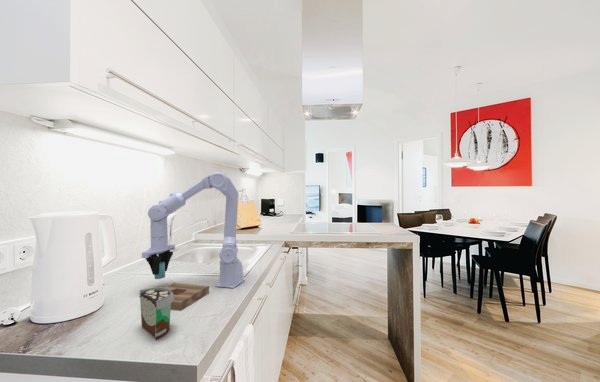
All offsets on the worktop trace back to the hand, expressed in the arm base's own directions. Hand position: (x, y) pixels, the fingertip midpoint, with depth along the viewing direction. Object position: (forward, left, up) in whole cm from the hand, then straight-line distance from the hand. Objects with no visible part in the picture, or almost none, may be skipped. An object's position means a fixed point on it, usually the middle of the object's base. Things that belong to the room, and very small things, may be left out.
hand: (159, 272), depth 104 cm
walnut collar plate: (+7, +13, -6) cm, 16 cm away
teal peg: (0, 0, -2) cm, 2 cm away
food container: (+25, +23, -6) cm, 35 cm away
